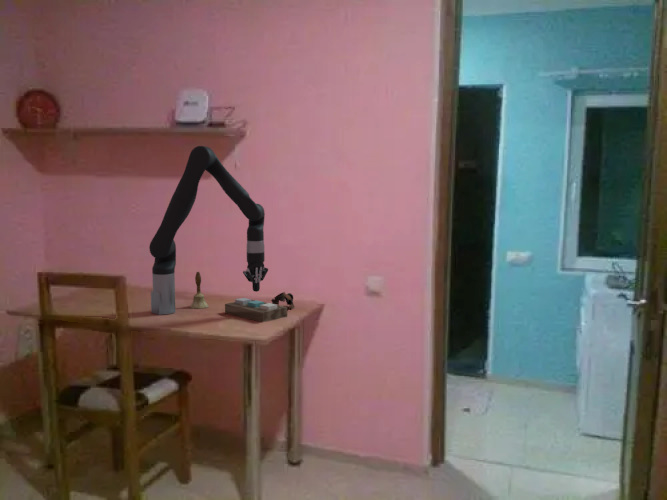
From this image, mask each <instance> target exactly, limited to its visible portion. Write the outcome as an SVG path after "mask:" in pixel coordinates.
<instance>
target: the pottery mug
mask: <svg viewBox="0 0 667 500" xmlns="http://www.w3.org/2000/svg"><path fill="white" fill-rule="evenodd" d="M293 301H294V295H293V294H292V293H287V294H286V292H285V291H284V292H281V293H278V294H277V295H276V296H274V298H272V299H271V304H276V305H279V304H280V302H286V305H287V306H289V308H290V310H294V308H295V304H294V302H293Z"/></svg>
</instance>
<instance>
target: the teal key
mask: <svg viewBox="0 0 667 500" xmlns="http://www.w3.org/2000/svg"><path fill="white" fill-rule="evenodd" d="M254 300H255V301H251V302H248V306H250V307H254V308H256V307H260V305H262V304H264V302H265V301H261V300H256V299H254Z"/></svg>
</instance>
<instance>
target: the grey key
mask: <svg viewBox="0 0 667 500" xmlns="http://www.w3.org/2000/svg"><path fill="white" fill-rule="evenodd" d="M252 300H253V299H251V298H247V297H242V298H241V297H239V298H235V299H234V302H235V303H237V304H241V305H245V304H248V302H251V301H252Z"/></svg>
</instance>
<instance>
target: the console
mask: <svg viewBox="0 0 667 500" xmlns="http://www.w3.org/2000/svg"><path fill="white" fill-rule="evenodd" d="M255 300H256V299H252V301H255ZM263 302H264V304H267V303H268V302H265V301H263ZM276 305H277V304H276ZM224 314H228V315H232V316H235V317H240V318H243V319H248V320H252V321H256V322H260V323H267V322H270V321H274V320H277V319H281V318H286V317H288V307H287V306H285V305H284V306H283V305H277V309H274V310H269V311H268V310H263V309H260V307H256V308H254V307H250V306H248V304H245V305H241V304H237V303H235V301H233V302H228V303H225V304H224Z"/></svg>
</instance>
